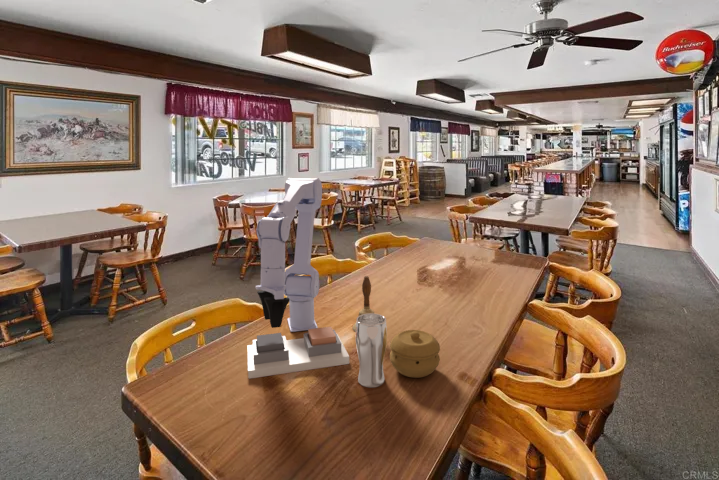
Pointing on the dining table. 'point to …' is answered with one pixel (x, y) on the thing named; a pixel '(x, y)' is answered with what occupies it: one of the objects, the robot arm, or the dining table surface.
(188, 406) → the dining table surface
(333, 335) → the terracotta key
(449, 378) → the dining table surface
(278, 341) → the charcoal key
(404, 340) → the pot
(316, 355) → the button panel
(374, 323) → the beer glass
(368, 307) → the hand bell
